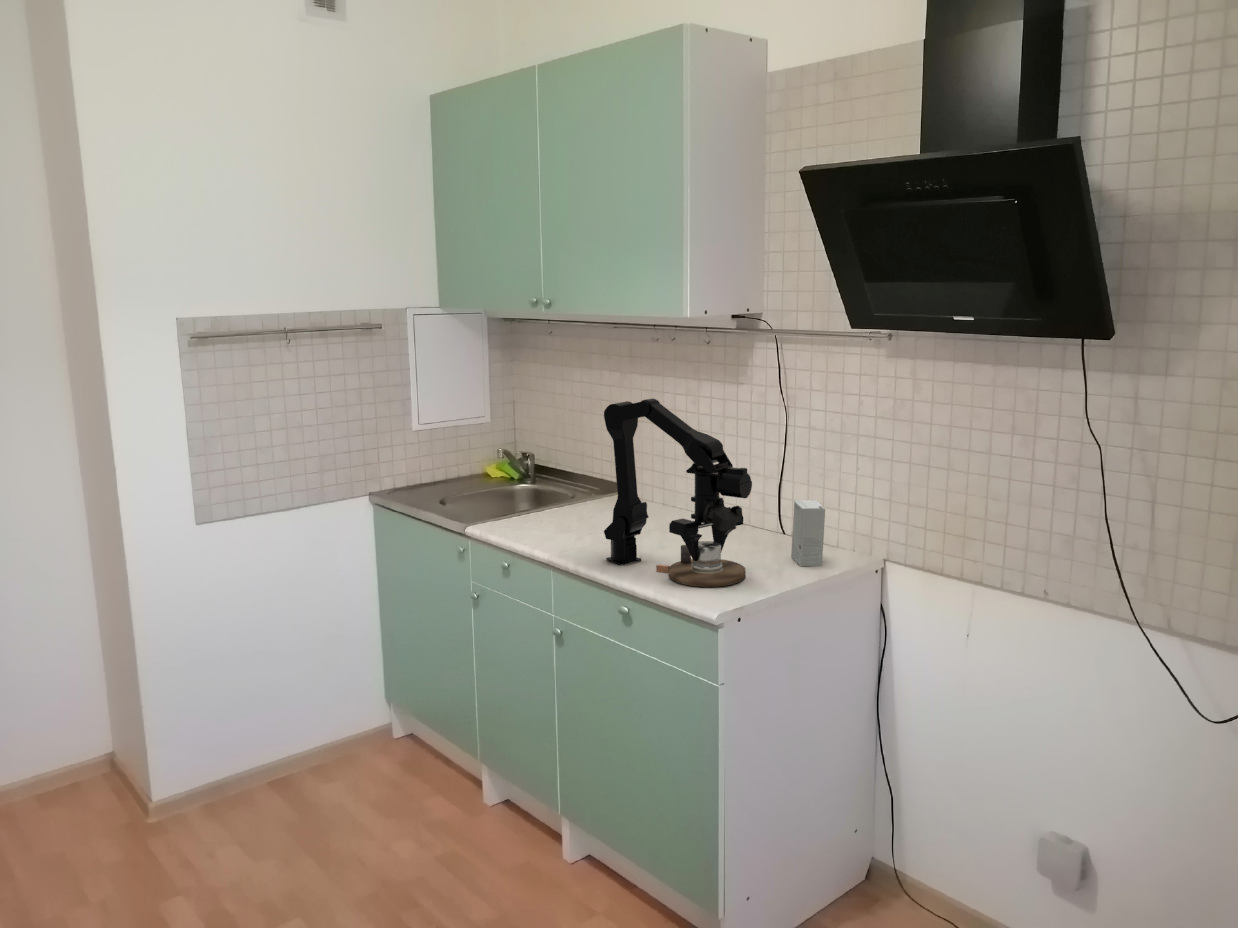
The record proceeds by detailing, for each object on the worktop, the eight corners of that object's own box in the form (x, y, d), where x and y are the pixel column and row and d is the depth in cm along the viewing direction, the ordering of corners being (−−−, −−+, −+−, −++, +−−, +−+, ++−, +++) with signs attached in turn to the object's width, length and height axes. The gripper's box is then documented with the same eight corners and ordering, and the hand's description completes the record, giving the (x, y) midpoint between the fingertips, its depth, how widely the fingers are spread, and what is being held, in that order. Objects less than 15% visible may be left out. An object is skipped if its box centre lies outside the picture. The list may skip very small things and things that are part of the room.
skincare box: (790, 557, 244) (791, 499, 241) (814, 556, 245) (815, 498, 242) (800, 567, 236) (801, 507, 233) (824, 566, 236) (825, 506, 234)
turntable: (653, 573, 231) (652, 551, 230) (709, 560, 242) (709, 538, 241) (704, 591, 217) (704, 567, 216) (761, 576, 228) (761, 553, 227)
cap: (685, 566, 230) (685, 543, 229) (707, 561, 234) (708, 538, 233) (705, 573, 224) (706, 549, 223) (728, 567, 229) (729, 544, 228)
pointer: (656, 571, 234) (656, 565, 234) (657, 570, 235) (657, 564, 235) (668, 572, 233) (668, 566, 233) (669, 571, 234) (669, 565, 233)
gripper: (700, 505, 214) (700, 573, 217) (760, 493, 225) (759, 558, 228) (667, 496, 223) (667, 562, 226) (727, 485, 234) (726, 548, 237)
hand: (706, 558), depth 229 cm, fingers open, 7 cm apart
